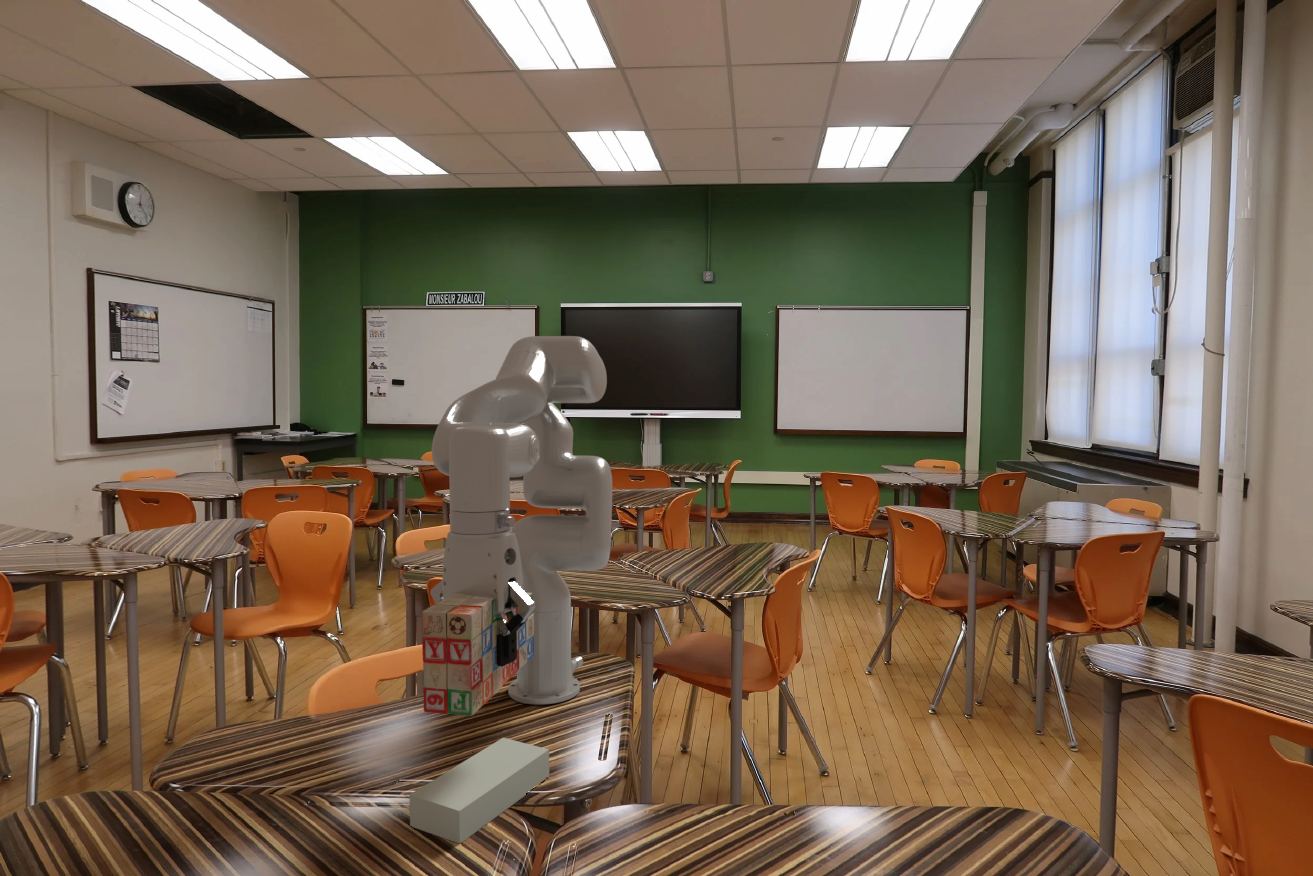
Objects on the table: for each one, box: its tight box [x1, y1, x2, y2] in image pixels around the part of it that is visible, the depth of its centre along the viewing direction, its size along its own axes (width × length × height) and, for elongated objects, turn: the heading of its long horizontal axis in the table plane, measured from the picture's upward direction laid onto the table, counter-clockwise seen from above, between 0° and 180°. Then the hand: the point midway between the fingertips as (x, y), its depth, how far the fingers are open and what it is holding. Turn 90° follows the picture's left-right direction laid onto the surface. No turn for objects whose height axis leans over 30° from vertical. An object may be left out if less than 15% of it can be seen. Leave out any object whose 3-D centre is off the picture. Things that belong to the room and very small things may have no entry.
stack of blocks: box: [421, 592, 534, 717], centre depth 102 cm, size 21×6×12 cm, turn 169°
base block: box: [409, 737, 550, 844], centre depth 103 cm, size 18×8×4 cm, turn 152°
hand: (481, 657), depth 102 cm, fingers closed on stack of blocks, 7 cm apart
